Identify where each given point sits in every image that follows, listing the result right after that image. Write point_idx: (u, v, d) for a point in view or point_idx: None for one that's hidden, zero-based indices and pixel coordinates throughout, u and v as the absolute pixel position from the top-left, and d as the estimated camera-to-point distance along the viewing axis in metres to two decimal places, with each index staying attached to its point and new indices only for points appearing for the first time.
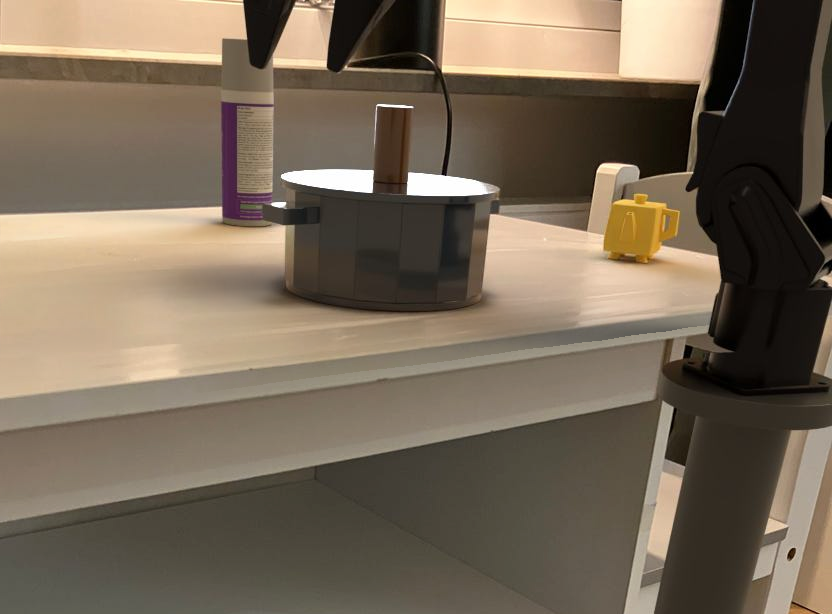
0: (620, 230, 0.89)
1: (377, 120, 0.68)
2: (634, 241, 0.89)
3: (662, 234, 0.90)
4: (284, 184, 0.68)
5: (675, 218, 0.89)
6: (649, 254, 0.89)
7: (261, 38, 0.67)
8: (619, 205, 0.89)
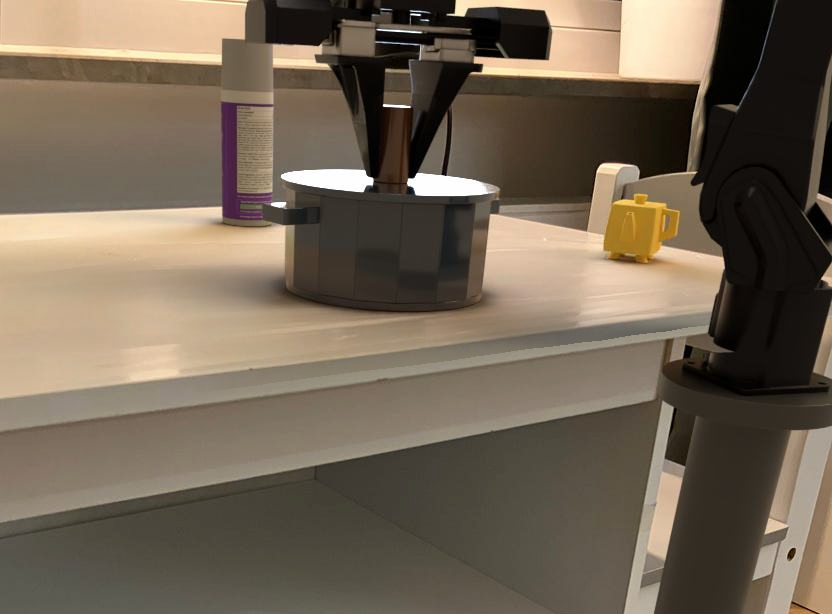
0: (620, 230, 0.89)
1: None
2: (634, 241, 0.89)
3: (662, 234, 0.90)
4: (284, 184, 0.68)
5: (675, 218, 0.89)
6: (649, 254, 0.89)
7: (364, 147, 0.68)
8: (619, 205, 0.89)
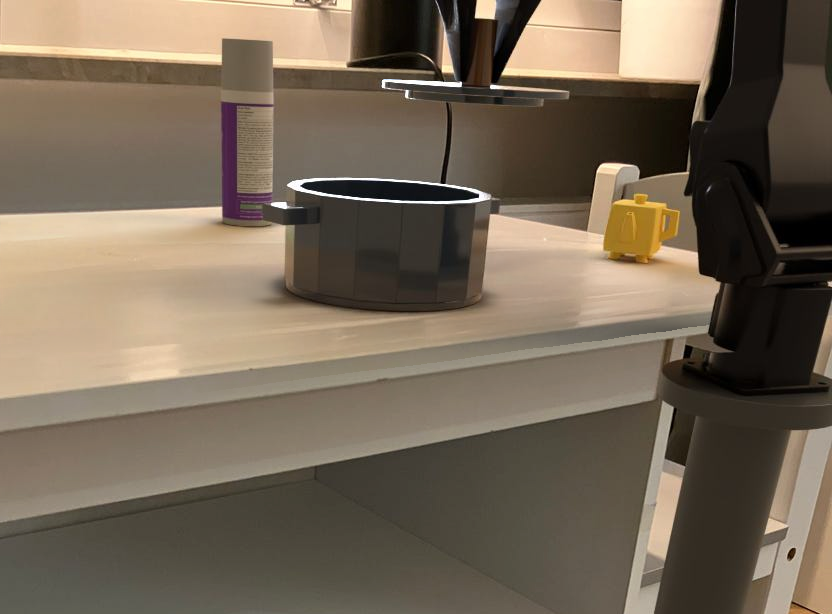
0: (620, 230, 0.89)
1: None
2: (634, 241, 0.89)
3: (662, 234, 0.90)
4: (388, 85, 0.80)
5: (675, 218, 0.89)
6: (649, 254, 0.89)
7: (456, 54, 0.80)
8: (619, 205, 0.89)
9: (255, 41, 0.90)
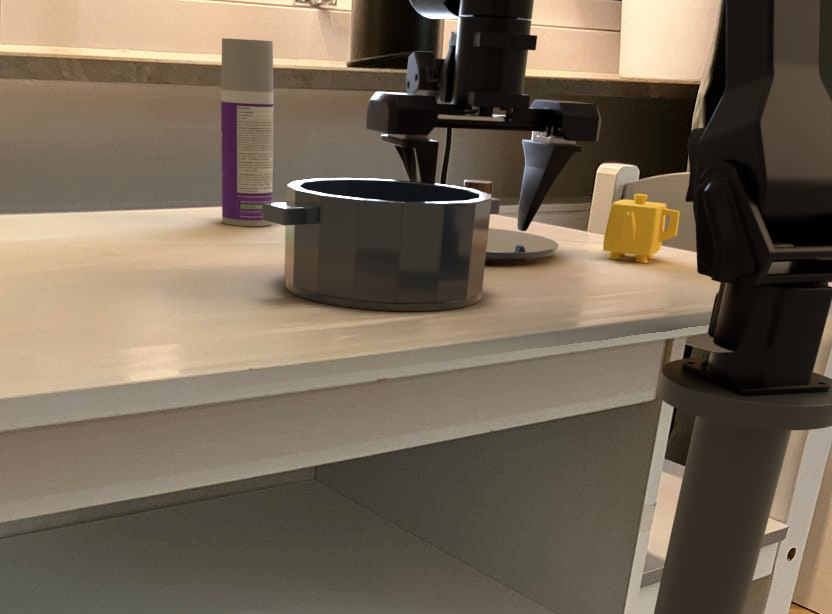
0: (620, 230, 0.89)
1: None
2: (634, 241, 0.89)
3: (662, 234, 0.90)
4: None
5: (675, 218, 0.89)
6: (649, 254, 0.89)
7: None
8: (619, 205, 0.89)
9: (255, 41, 0.90)
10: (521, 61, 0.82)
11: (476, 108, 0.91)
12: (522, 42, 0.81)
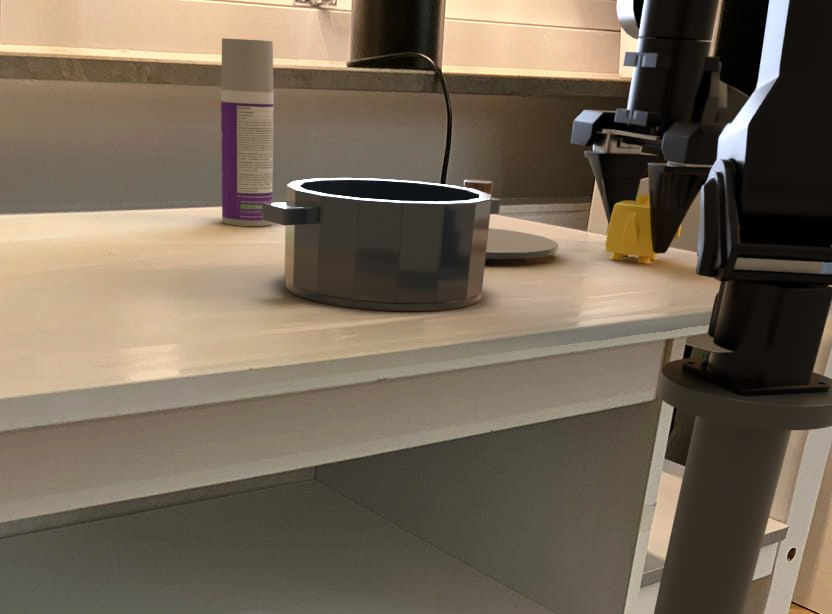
0: (623, 231, 0.89)
1: None
2: (637, 242, 0.89)
3: None
4: None
5: None
6: (652, 255, 0.89)
7: None
8: (622, 206, 0.88)
9: (255, 41, 0.90)
10: (652, 79, 0.83)
11: None
12: (648, 60, 0.83)
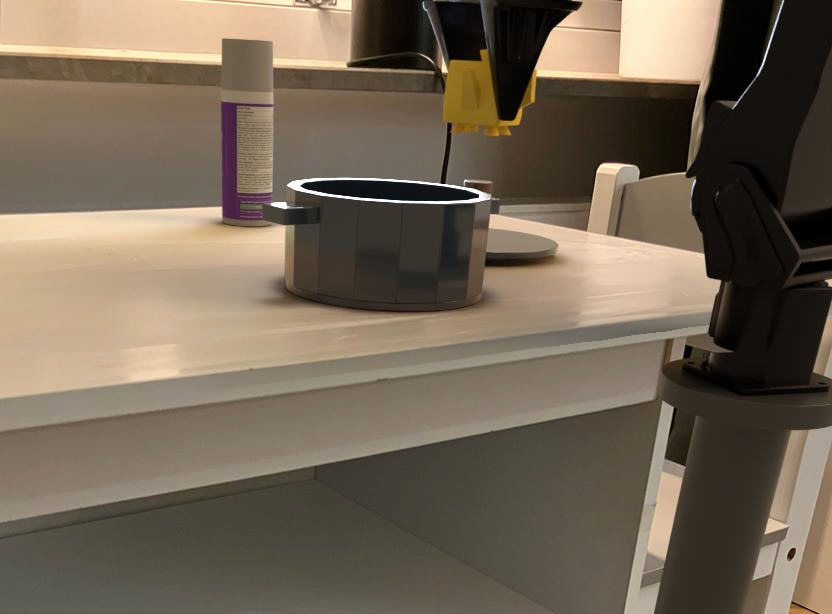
0: (461, 94, 0.71)
1: None
2: (478, 107, 0.71)
3: None
4: None
5: None
6: (497, 124, 0.71)
7: None
8: (458, 61, 0.71)
9: (255, 41, 0.90)
10: None
11: None
12: None
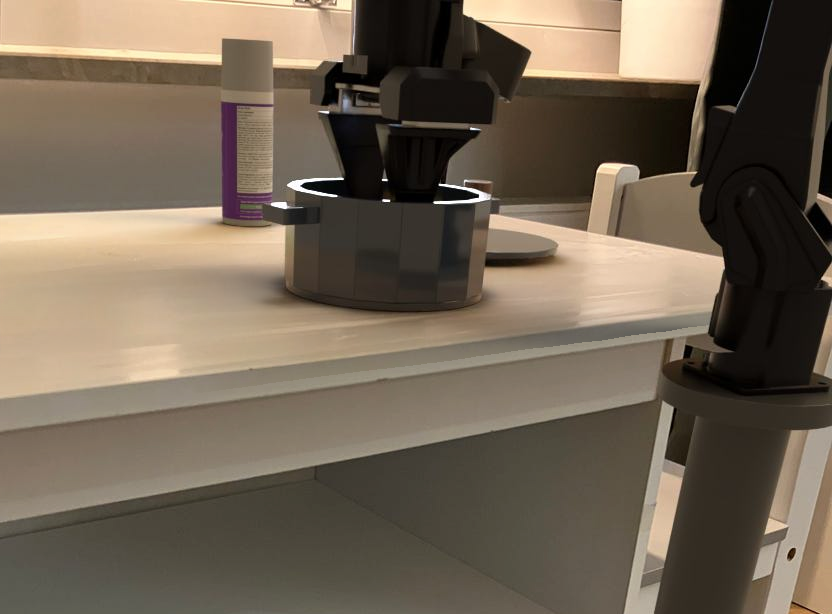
0: None
1: None
2: None
3: None
4: None
5: None
6: None
7: None
8: None
9: (255, 41, 0.90)
10: (371, 12, 0.63)
11: None
12: None
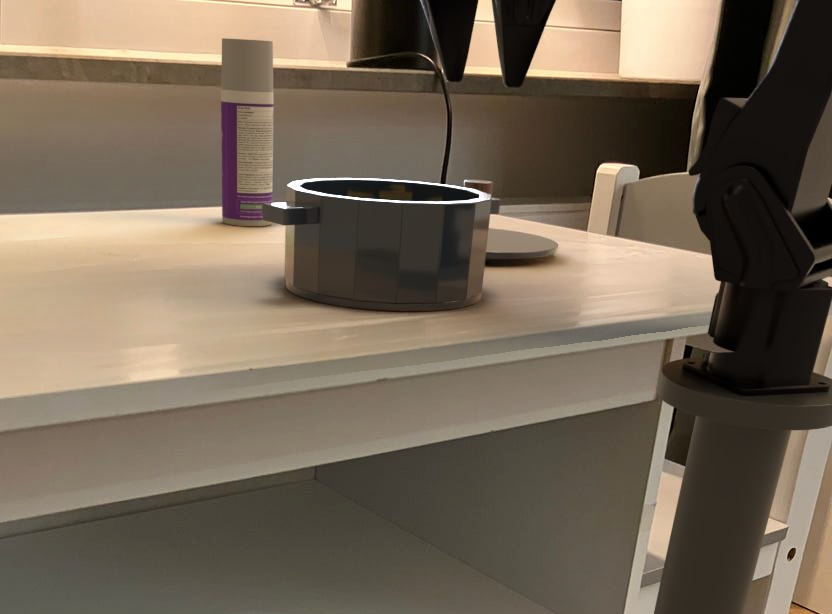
0: None
1: None
2: None
3: None
4: None
5: None
6: None
7: None
8: None
9: (255, 41, 0.90)
10: None
11: None
12: None
